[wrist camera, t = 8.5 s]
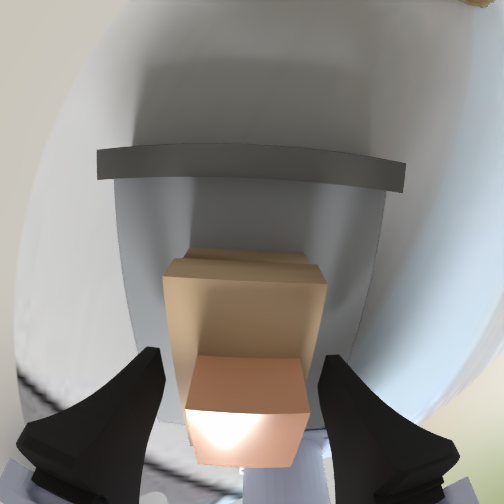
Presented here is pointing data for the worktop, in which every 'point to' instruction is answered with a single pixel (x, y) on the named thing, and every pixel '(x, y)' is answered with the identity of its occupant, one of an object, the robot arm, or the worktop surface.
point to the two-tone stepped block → (241, 308)
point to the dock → (248, 229)
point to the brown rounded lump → (478, 2)
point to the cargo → (247, 411)
